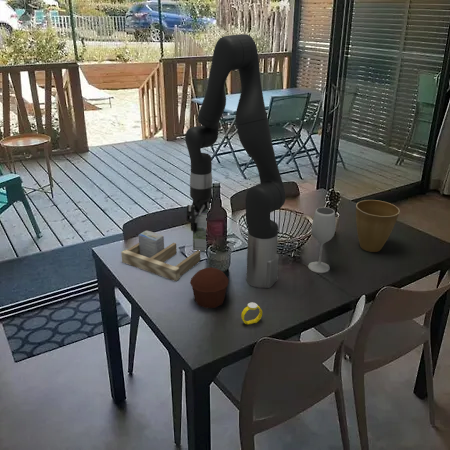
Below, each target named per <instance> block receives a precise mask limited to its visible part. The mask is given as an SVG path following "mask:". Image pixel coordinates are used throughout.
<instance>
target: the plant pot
mask: <svg viewBox="0 0 450 450" xmlns="http://www.w3.org/2000/svg"><path fill="white" fill-rule="evenodd" d="M400 212H401V210H400V208H399V207H397V206H396V205H394V204H393V203H390V202H387V201H384V200H383V201H382V200H376V199H363V200H360V201H358V202H357V203H356V205H355V221H356V222H355V223H356V224H355V225H356V232H357V238H358V243H359V246H360V248H361V249H362V250H363V251H366V252H370V253H377V252H380V251H382V249H383V247H384V246H385V244H386V242H387V241H388V239H389V237H390V236H391V234H392V233H393V232H392V231H393V230H394V227H395V225H396V222H397V220H398V217H399V215H400Z"/></svg>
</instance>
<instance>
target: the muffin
mask: <svg viewBox="0 0 450 450" xmlns="http://www.w3.org/2000/svg"><path fill="white" fill-rule="evenodd" d="M229 281H230V280H229V278H228V276H227V275H226V274H225V272H224V271H222V270H221V269H220V268H217V267H209V266H208V267H204V268H201V269H200V270H198V271H196V273H195V274H194V275H193V276H192V277H191V279H190V282H189V283H190V286H191V287H192V294H193V297H194V298H193V299H194V301H195V302H196V304H197V306H198V307H202V308H205V309H212V308H213V309H216V308H218V307H219V306H222V305H223V303H224V301H225V299H226V292H227V287H228V285H229Z"/></svg>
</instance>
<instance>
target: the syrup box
mask: <svg viewBox="0 0 450 450" xmlns="http://www.w3.org/2000/svg"><path fill="white" fill-rule="evenodd" d="M207 212H208V210H205V211H203V212H202V213H201V216H200V217H199V218H198V220H197V231H196V232H193V231H192V251H193V250H200V251H205V250H206V227H207V221H206V218H207ZM195 213H198V212H196V211H195ZM195 217H196V216H195V215H194V219H195Z"/></svg>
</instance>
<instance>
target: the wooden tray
mask: <svg viewBox="0 0 450 450" xmlns="http://www.w3.org/2000/svg"><path fill="white" fill-rule="evenodd" d="M177 249H178V248H177V242H172V243H171V244H169V245H168V246H166V247H164V249H163V250H162V251H160V252H159V253H157V254H155V255H154V256H152V257H151V258H149V257H146V256H143V255H140V249H139V242H137V243H136V244H134V245H132V246H131V247H129V248H128V249H124V250H123V251H121V253H120V254H121V263H123V264H126V265H129V266H131V267H135V268H138V269H140V270H143V271H145V272H149V273H152V274H154V275H156V276H159V277H162V278H166V279H169V280H172V281H173V282H177V281H179V280H180V278H181V277H182V276H183V275H184V274H186V273H187V272H188V271H190V270H191V269H193V268H194V267H195V266H196V265H198V264H199V263H200V262H201V261H202V260H201V259H202V257H201V251H199V250H197V251H193V253H191V254H190V255H189V256H187V257H186V258H185V259H183V260H182V261H180V262H179V263H177V264H176V265H172V264H169V263H167V262H166V261H168V260H170V259H171V258H172V257H174V256H175V255H177V254H178V253H177V251H178V250H177ZM176 253H177V254H176ZM200 260H201V261H200ZM199 261H200V262H199ZM165 262H166V263H165ZM198 262H199V263H198ZM197 263H198V264H197ZM193 266H194V267H193ZM189 269H190V270H189Z"/></svg>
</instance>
